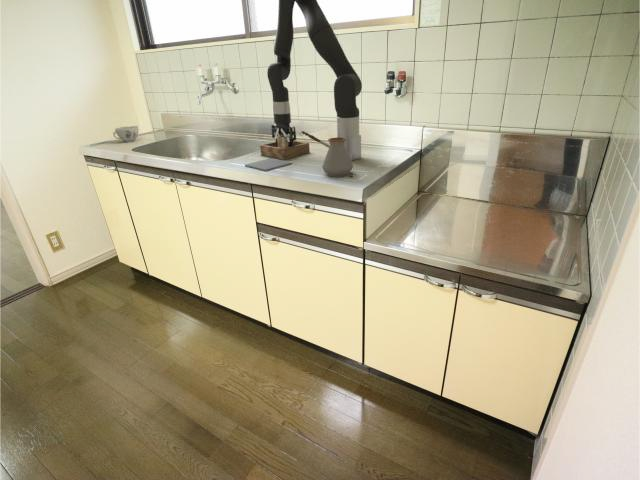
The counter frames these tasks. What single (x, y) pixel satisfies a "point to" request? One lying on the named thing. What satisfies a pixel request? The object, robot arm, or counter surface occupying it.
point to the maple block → (282, 142)
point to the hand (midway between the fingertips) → (284, 148)
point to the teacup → (127, 133)
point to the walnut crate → (285, 150)
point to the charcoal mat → (268, 164)
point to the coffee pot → (335, 157)
